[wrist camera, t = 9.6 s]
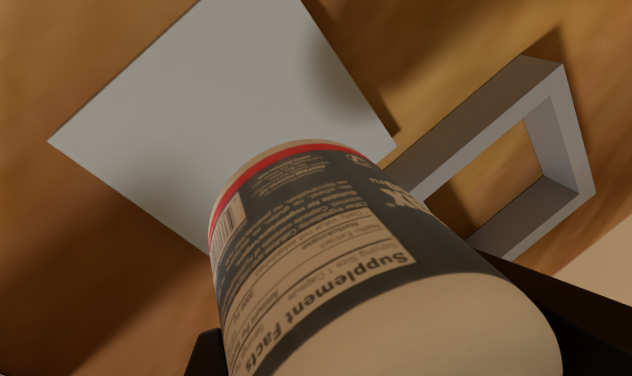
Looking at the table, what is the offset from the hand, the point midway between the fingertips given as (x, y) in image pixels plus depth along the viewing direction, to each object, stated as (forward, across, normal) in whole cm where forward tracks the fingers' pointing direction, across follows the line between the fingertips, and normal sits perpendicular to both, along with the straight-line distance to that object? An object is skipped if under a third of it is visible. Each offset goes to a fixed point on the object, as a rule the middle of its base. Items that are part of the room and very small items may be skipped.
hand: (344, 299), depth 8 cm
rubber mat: (+10, 0, 0) cm, 10 cm away
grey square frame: (+10, -12, +5) cm, 16 cm away
